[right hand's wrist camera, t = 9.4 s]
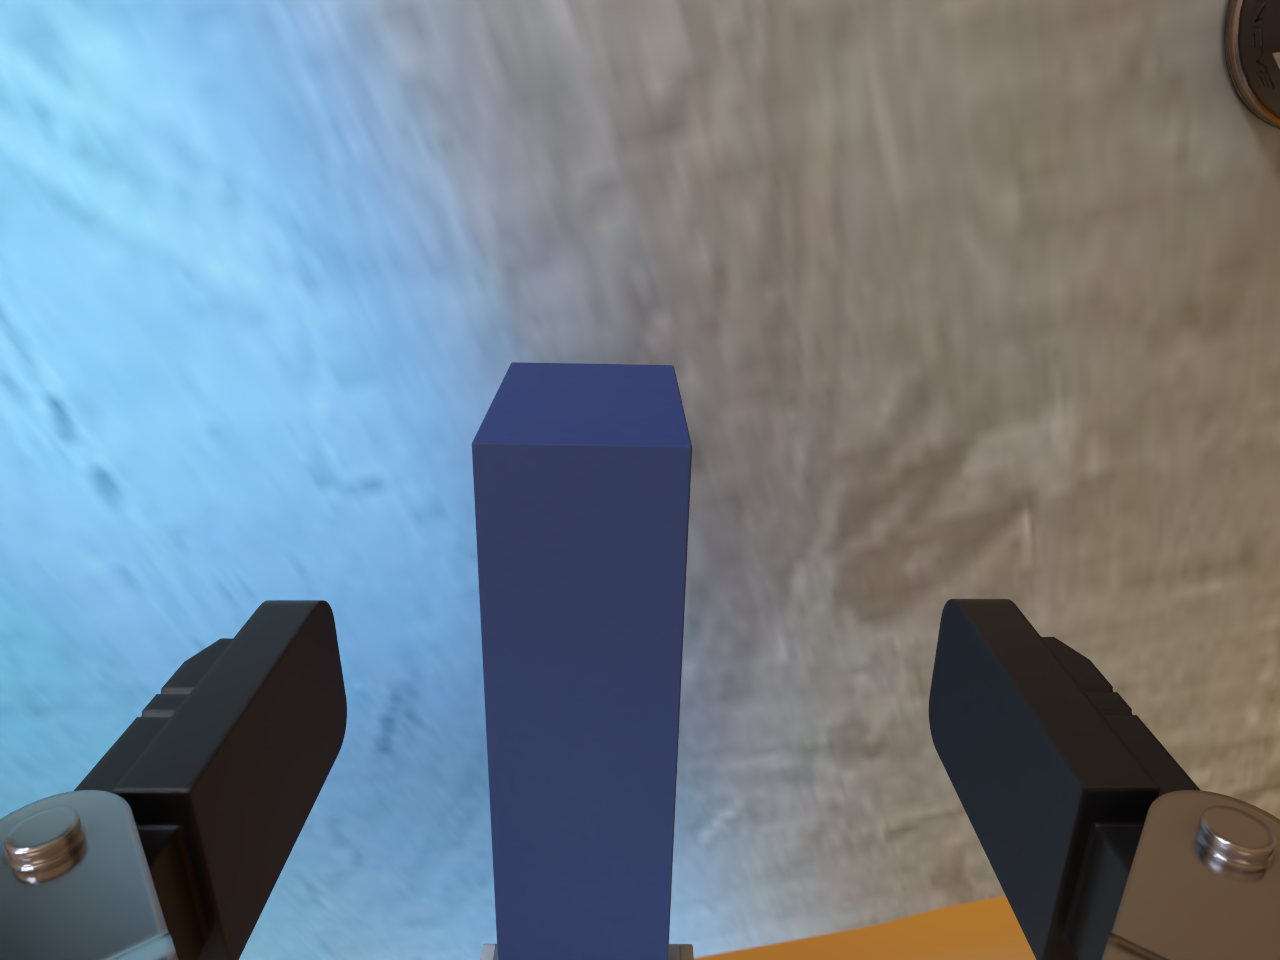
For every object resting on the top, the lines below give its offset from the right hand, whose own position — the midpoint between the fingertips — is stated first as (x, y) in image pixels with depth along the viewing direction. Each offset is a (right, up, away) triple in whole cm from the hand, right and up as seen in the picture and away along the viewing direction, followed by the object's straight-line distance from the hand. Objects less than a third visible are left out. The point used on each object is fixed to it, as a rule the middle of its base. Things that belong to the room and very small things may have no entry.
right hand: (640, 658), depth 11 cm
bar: (-2, -6, +23) cm, 24 cm away
